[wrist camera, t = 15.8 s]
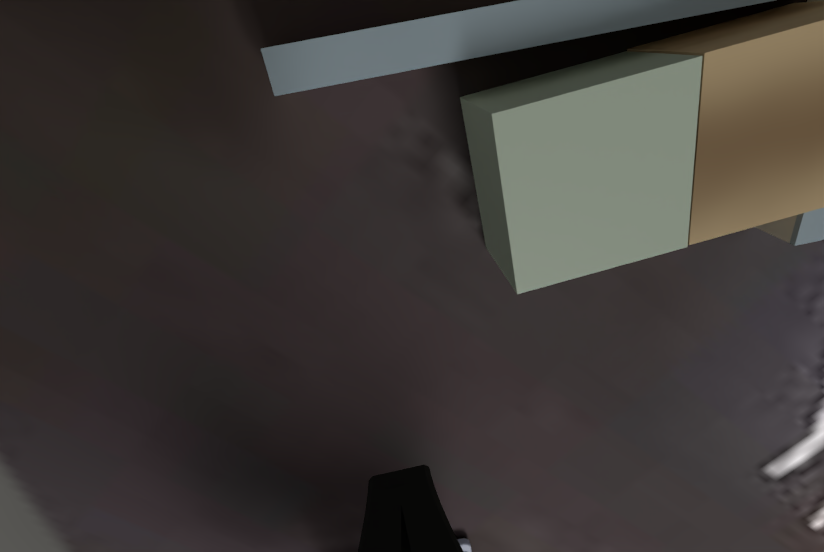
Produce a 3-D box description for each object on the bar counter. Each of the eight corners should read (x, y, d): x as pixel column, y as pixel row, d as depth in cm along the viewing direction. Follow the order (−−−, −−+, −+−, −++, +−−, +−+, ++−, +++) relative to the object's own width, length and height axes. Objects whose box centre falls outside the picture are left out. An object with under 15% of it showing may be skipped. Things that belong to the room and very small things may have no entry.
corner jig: (791, 219, 20) (834, 237, 18) (346, 313, 19) (346, 341, 17) (869, -65, 15) (939, -79, 13) (271, 47, 14) (260, 49, 12)
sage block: (623, 207, 19) (687, 247, 15) (484, 245, 19) (517, 293, 15) (622, 51, 16) (702, 55, 12) (458, 96, 16) (491, 114, 12)
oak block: (762, 167, 19) (858, 197, 15) (624, 205, 19) (689, 244, 15) (788, 3, 16) (914, -6, 12) (624, 48, 16) (704, 52, 12)
